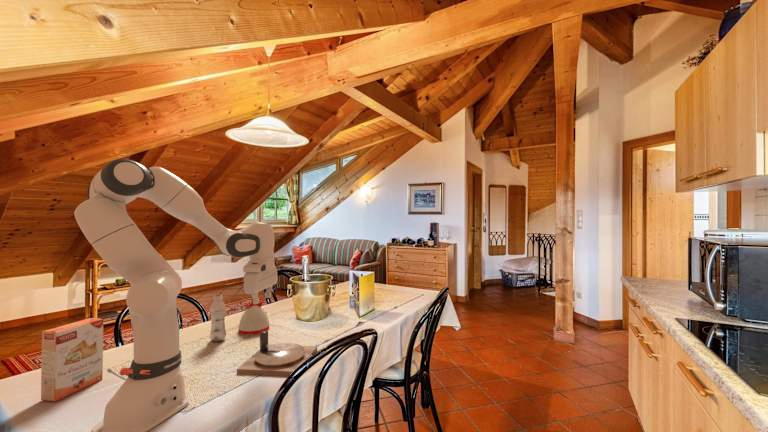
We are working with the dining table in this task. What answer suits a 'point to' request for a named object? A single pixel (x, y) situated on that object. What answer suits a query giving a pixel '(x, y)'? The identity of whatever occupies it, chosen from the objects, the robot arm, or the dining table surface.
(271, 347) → the dial
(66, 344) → the cracker box
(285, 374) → the dial base
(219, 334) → the plastic bottle
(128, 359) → the dining table surface
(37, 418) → the dining table surface
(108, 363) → the dining table surface
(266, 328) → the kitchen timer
